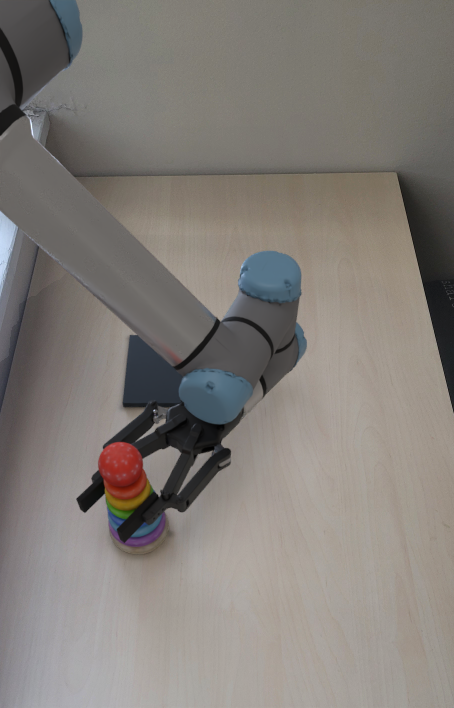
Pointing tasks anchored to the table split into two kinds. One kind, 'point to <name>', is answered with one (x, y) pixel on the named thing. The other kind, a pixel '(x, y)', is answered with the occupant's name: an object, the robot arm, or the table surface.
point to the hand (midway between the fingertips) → (100, 520)
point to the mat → (149, 377)
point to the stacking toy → (129, 497)
